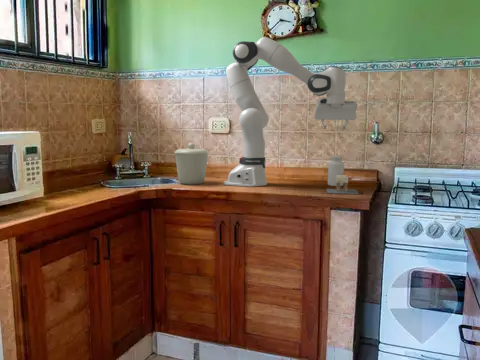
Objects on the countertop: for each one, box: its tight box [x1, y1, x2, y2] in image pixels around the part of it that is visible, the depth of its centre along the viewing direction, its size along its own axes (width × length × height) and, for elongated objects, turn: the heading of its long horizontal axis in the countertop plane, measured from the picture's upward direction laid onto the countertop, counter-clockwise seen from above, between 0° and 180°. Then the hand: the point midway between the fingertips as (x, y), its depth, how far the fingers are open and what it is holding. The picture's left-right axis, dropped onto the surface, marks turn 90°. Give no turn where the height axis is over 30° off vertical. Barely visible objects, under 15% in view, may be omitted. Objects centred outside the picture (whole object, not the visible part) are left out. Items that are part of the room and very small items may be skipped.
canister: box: [173, 142, 210, 186], centre depth 238 cm, size 18×18×21 cm
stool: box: [335, 174, 349, 192], centre depth 216 cm, size 8×5×7 cm, turn 171°
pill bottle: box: [327, 155, 345, 187], centre depth 237 cm, size 8×8×15 cm
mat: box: [326, 188, 359, 195], centre depth 216 cm, size 14×12×1 cm
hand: (334, 129), depth 226 cm, fingers open, 8 cm apart
